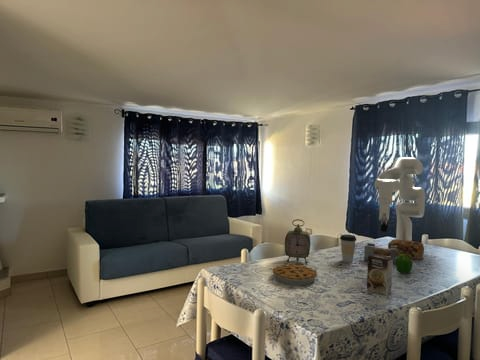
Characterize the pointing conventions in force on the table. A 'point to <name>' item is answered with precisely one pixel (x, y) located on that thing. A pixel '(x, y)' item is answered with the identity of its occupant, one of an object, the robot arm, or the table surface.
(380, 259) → the coffee box
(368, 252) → the box
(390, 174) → the robot arm
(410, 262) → the bell pepper
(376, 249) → the brown cylinder
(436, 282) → the table surface
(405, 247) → the bread
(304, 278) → the pie
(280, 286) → the table surface
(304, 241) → the tabletop clock
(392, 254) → the saddle bracket
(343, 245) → the coffee cup
